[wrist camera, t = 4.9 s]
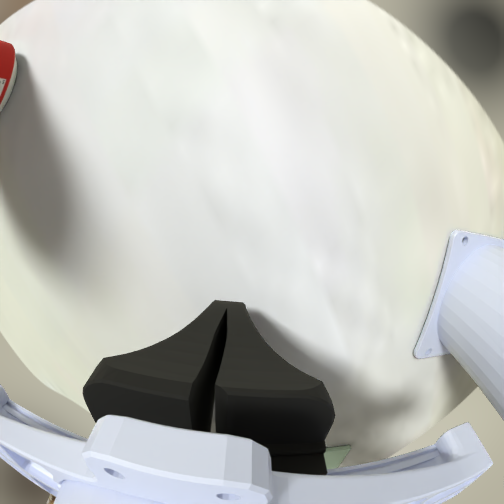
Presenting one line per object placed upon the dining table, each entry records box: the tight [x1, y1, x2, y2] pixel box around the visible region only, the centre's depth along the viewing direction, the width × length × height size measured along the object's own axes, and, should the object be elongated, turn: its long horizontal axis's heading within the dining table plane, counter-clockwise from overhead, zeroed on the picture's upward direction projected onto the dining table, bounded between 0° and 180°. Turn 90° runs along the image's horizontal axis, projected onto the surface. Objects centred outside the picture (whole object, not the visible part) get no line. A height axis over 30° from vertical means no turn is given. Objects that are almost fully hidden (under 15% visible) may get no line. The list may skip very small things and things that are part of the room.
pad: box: [324, 445, 351, 469], centre depth 17 cm, size 6×6×1 cm
